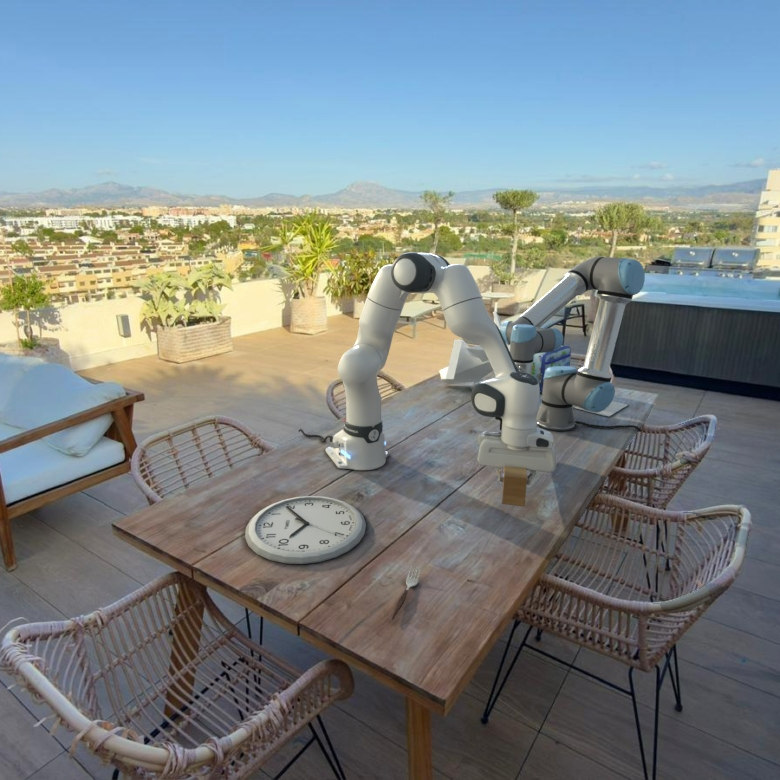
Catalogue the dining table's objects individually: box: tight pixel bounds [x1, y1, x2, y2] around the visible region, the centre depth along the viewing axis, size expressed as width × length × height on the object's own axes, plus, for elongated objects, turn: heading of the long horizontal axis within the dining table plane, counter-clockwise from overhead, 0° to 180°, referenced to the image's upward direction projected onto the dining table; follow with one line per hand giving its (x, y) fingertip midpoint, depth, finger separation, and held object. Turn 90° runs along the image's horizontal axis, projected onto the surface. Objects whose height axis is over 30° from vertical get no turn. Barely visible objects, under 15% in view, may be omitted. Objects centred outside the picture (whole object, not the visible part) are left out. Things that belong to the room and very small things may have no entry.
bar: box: [501, 466, 528, 507], centre depth 156 cm, size 51×6×8 cm, turn 167°
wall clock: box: [244, 495, 367, 565], centre depth 132 cm, size 30×2×30 cm
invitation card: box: [573, 400, 629, 418], centre depth 226 cm, size 21×1×15 cm
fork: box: [391, 565, 422, 620], centre depth 108 cm, size 3×16×2 cm, turn 160°
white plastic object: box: [438, 310, 510, 386], centre depth 245 cm, size 37×45×31 cm
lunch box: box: [531, 344, 572, 394], centre depth 248 cm, size 26×11×21 cm, turn 135°
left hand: (514, 482), depth 140 cm, fingers closed on bar, 5 cm apart
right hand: (513, 440), depth 174 cm, fingers closed on bar, 6 cm apart
